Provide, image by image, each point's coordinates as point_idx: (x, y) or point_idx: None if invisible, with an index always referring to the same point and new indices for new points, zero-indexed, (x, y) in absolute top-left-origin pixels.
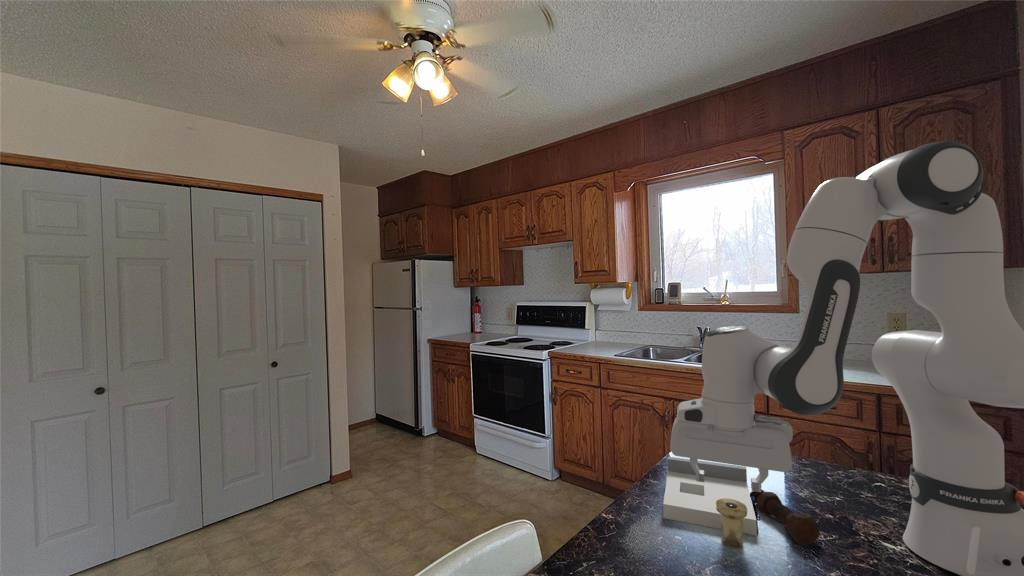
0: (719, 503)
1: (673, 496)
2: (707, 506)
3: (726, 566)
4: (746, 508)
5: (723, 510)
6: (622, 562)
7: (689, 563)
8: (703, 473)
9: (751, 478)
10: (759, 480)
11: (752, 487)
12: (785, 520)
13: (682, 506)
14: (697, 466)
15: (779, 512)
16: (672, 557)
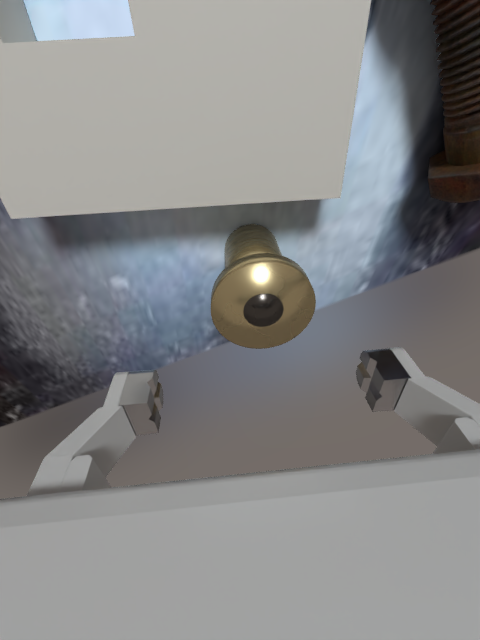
0: (223, 313)
1: (7, 124)
2: (169, 163)
3: None
4: (312, 310)
5: (236, 342)
6: (61, 393)
7: (169, 354)
8: (153, 430)
9: (383, 385)
10: (409, 422)
11: (363, 388)
12: (454, 128)
13: (82, 207)
14: (108, 428)
15: (463, 71)
16: (134, 351)
